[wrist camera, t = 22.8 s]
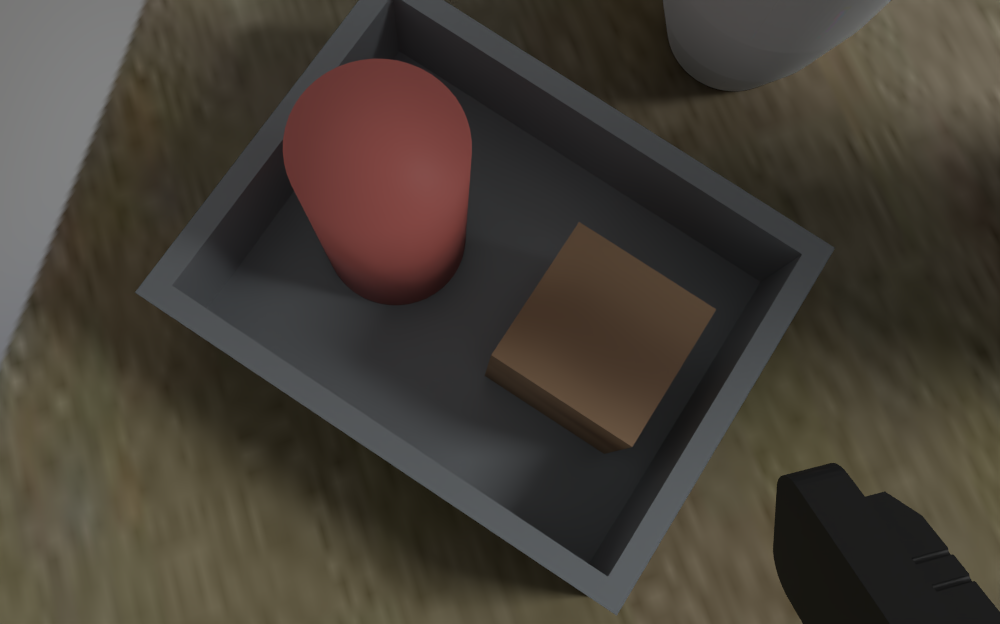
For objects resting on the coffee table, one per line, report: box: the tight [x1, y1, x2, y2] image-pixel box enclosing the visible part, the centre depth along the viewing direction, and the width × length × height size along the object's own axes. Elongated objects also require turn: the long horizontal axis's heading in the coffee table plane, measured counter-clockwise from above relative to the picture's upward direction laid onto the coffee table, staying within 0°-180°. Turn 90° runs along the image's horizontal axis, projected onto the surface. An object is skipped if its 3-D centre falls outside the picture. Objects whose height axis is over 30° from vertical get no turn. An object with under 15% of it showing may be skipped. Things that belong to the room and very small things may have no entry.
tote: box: [135, 0, 835, 615], centre depth 32 cm, size 14×18×5 cm
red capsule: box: [283, 59, 472, 305], centre depth 29 cm, size 5×5×9 cm
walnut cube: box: [485, 222, 716, 454], centre depth 30 cm, size 5×5×5 cm
